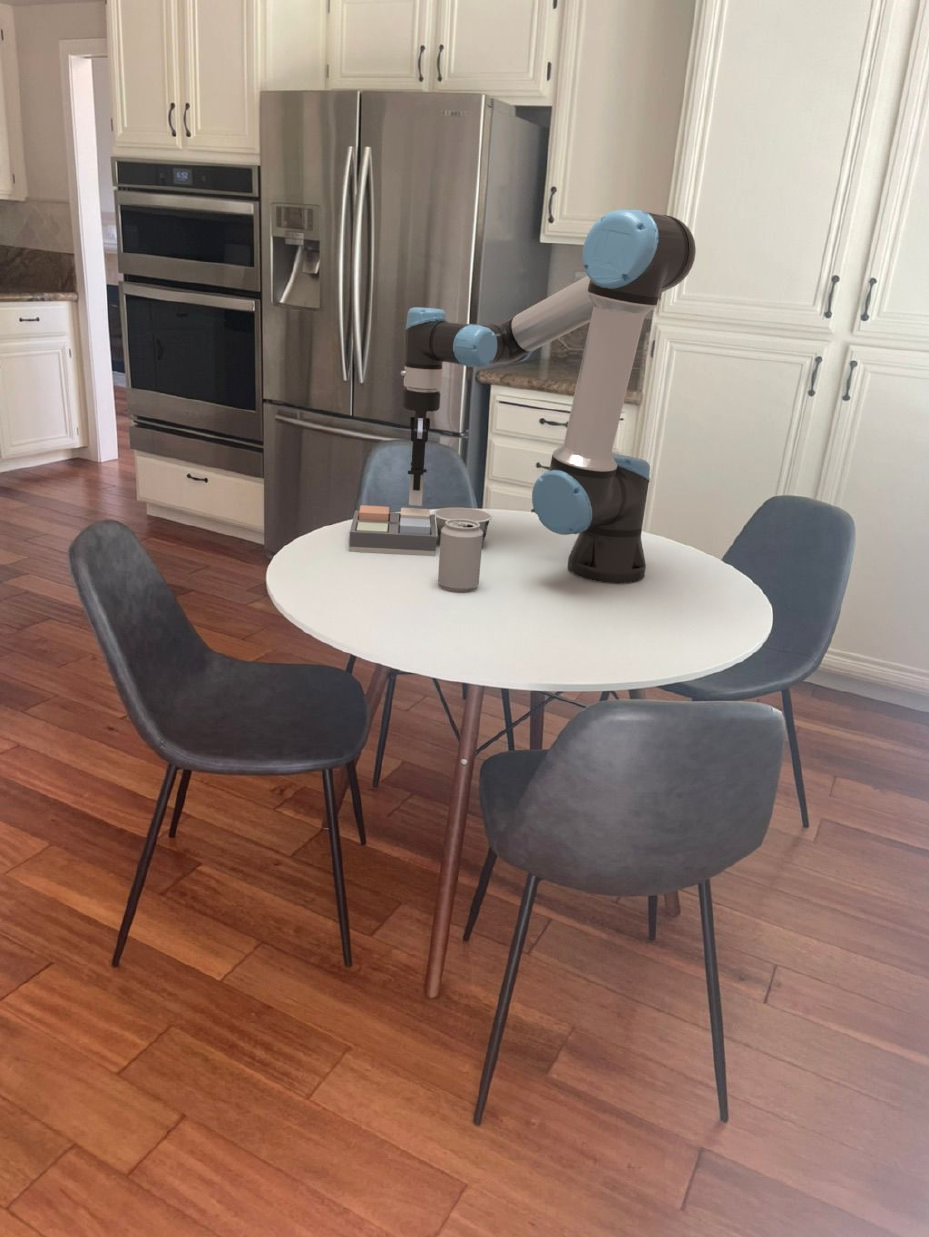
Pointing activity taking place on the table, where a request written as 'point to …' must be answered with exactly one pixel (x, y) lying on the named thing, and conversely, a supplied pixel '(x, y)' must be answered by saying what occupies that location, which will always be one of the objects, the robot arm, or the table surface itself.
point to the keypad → (392, 538)
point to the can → (460, 555)
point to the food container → (462, 513)
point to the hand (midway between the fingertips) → (415, 504)
